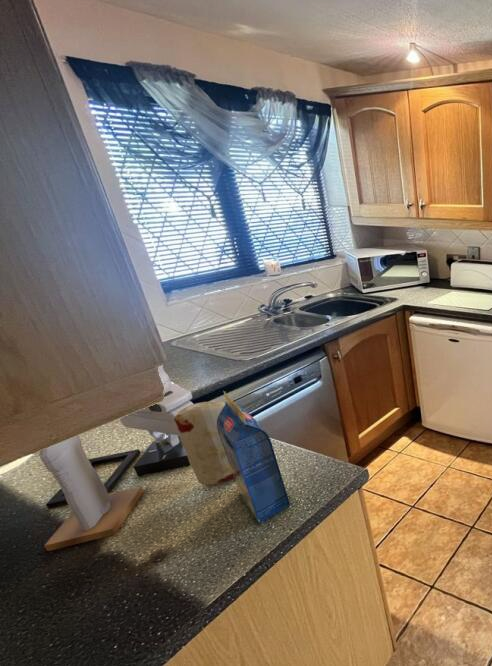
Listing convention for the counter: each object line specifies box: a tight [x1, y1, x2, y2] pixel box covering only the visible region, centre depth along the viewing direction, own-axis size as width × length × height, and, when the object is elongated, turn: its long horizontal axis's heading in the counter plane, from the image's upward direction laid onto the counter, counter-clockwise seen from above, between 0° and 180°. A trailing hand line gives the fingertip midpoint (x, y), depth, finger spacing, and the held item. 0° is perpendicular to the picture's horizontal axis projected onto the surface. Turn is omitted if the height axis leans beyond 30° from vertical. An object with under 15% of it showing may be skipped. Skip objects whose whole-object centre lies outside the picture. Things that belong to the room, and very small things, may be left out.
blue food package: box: [217, 390, 291, 523], centre depth 78 cm, size 6×12×25 cm, turn 49°
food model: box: [174, 400, 235, 486], centre depth 86 cm, size 10×7×20 cm
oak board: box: [43, 485, 145, 552], centre depth 79 cm, size 10×12×2 cm
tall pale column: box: [39, 434, 111, 531], centre depth 74 cm, size 11×4×22 cm, turn 29°
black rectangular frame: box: [45, 448, 142, 509], centre depth 89 cm, size 10×15×1 cm, turn 21°
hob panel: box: [133, 440, 191, 478], centre depth 95 cm, size 11×10×3 cm
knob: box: [153, 434, 181, 454], centre depth 94 cm, size 4×2×4 cm, turn 168°
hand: (169, 443), depth 94 cm, fingers closed on knob, 2 cm apart
